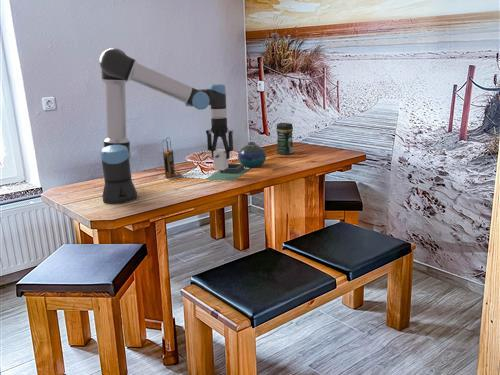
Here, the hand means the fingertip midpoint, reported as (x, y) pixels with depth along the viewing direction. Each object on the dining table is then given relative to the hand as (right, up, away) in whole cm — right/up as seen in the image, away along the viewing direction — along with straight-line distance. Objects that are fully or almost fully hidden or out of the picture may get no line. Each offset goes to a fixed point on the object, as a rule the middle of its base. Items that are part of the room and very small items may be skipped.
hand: (221, 164), depth 235 cm
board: (+3, -6, +9) cm, 11 cm away
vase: (+15, 0, +27) cm, 31 cm away
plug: (0, -2, 0) cm, 2 cm away
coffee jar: (+35, +9, +55) cm, 66 cm away
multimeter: (-24, -5, +15) cm, 29 cm away
